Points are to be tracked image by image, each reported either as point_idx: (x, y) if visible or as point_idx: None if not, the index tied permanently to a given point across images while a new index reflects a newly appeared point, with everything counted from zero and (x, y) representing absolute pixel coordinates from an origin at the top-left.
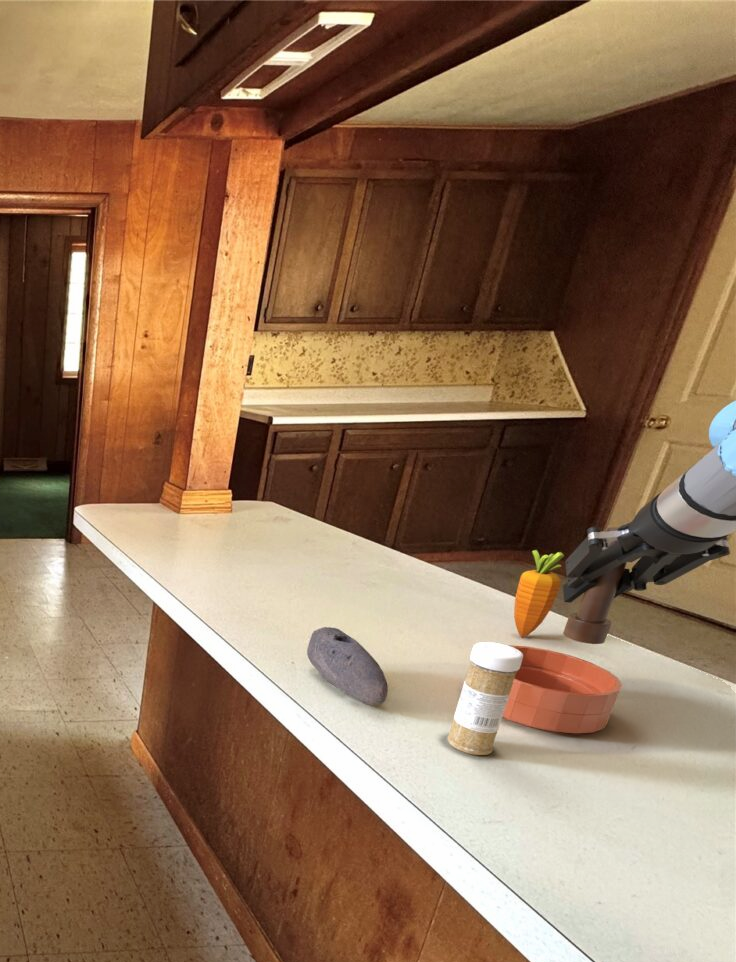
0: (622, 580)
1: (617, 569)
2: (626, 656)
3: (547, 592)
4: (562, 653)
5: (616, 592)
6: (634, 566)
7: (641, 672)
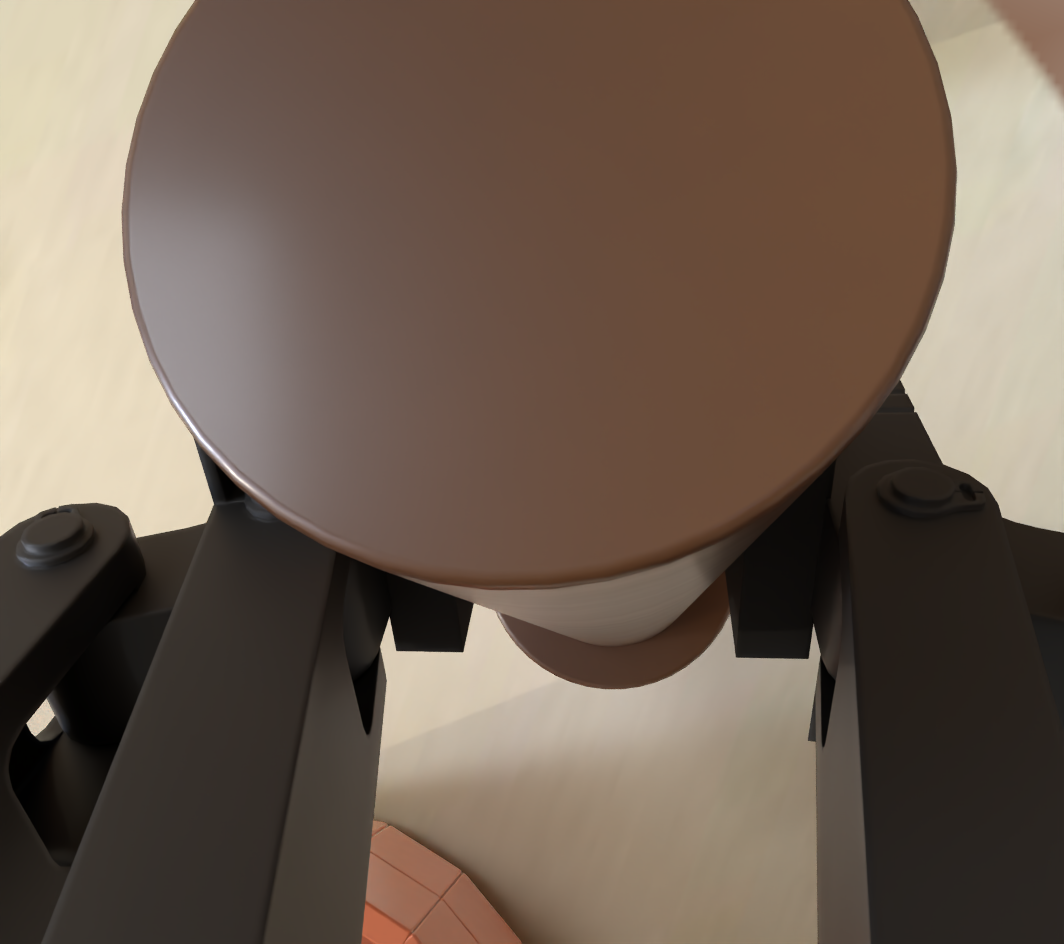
0: (738, 576)
1: (616, 631)
2: (994, 232)
3: None
4: (380, 915)
5: None
6: (847, 566)
7: (991, 433)
